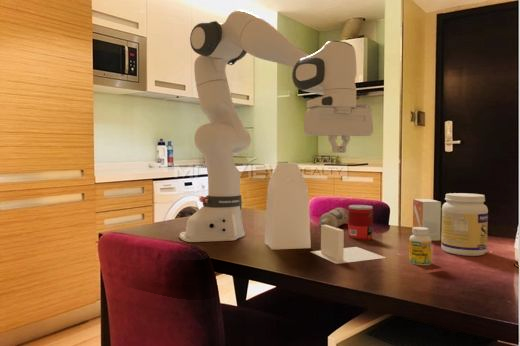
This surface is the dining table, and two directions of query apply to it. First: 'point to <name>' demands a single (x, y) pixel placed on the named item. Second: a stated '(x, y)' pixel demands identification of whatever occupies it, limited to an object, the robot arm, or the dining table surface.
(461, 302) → the dining table surface
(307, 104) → the robot arm
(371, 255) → the mat
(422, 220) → the small box
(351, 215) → the canned food
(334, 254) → the tile
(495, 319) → the dining table surface
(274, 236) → the milk
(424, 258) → the supplement bottle
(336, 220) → the decorative bottle
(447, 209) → the supplement tub
